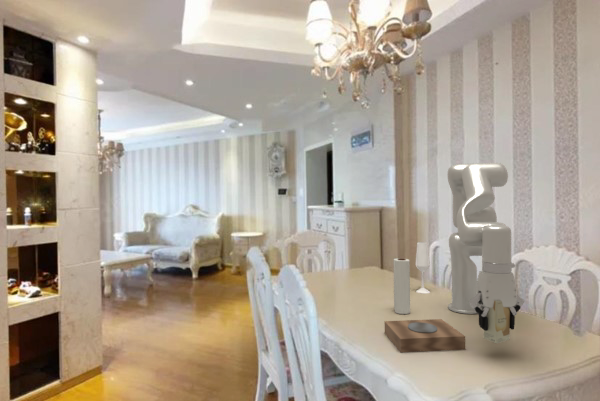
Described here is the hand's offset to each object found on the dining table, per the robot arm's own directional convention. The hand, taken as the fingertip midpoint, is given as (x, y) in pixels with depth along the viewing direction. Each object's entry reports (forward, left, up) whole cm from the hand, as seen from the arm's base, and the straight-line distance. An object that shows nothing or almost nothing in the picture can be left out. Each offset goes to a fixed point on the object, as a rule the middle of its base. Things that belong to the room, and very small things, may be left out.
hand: (496, 327), depth 108 cm
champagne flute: (-8, -72, -8) cm, 73 cm away
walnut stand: (+17, -12, -8) cm, 23 cm away
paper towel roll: (+13, -42, -8) cm, 45 cm away
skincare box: (0, 0, -4) cm, 4 cm away
